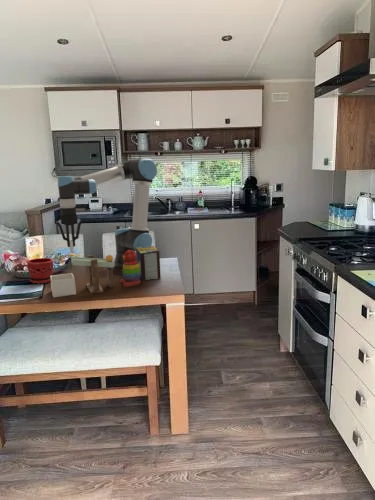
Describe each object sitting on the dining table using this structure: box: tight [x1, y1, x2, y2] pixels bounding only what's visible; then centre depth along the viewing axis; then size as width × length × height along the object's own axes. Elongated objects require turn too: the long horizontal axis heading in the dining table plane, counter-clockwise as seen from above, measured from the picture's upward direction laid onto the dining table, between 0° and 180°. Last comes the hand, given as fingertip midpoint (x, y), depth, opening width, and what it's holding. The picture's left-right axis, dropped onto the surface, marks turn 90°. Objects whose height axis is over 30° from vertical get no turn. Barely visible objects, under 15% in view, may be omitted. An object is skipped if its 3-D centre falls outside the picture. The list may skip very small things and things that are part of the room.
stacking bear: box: [119, 250, 142, 288], centre depth 197 cm, size 11×10×18 cm
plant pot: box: [26, 257, 54, 285], centre depth 205 cm, size 13×13×12 cm
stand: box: [85, 254, 115, 294], centre depth 191 cm, size 12×15×16 cm
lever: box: [67, 253, 115, 269], centre depth 193 cm, size 21×18×3 cm
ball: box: [105, 254, 114, 262], centre depth 192 cm, size 4×4×4 cm
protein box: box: [135, 245, 162, 281], centre depth 209 cm, size 10×15×16 cm
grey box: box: [50, 272, 77, 298], centre depth 185 cm, size 11×11×8 cm
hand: (72, 252), depth 196 cm, fingers closed
